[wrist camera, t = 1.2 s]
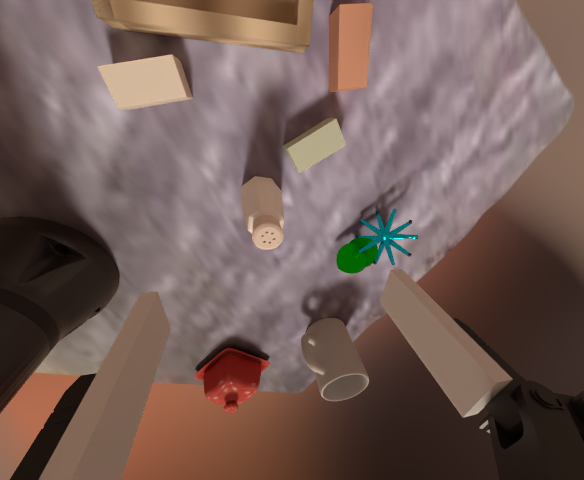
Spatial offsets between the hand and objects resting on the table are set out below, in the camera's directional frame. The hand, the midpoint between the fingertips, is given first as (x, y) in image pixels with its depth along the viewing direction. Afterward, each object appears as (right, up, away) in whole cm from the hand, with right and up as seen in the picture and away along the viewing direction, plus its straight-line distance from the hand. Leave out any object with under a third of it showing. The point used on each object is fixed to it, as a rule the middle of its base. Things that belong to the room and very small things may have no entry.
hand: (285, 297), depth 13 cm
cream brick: (-13, +18, +9) cm, 24 cm away
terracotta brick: (+6, +22, +10) cm, 25 cm away
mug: (+6, -15, +32) cm, 36 cm away
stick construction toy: (+11, +6, +22) cm, 25 cm away
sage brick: (+3, +15, +14) cm, 21 cm away
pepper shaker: (-4, +9, +16) cm, 19 cm away
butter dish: (-12, -22, +33) cm, 42 cm away
